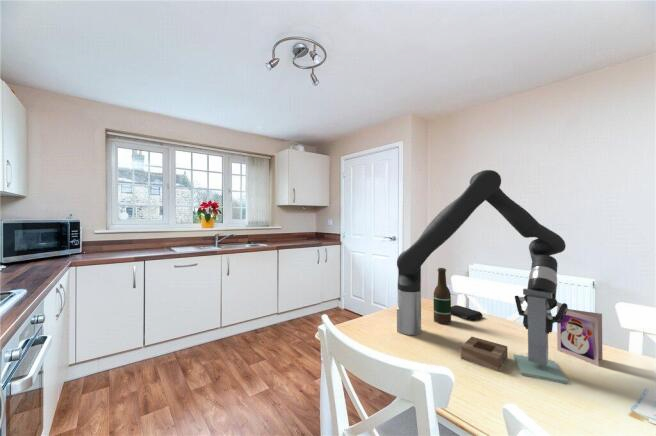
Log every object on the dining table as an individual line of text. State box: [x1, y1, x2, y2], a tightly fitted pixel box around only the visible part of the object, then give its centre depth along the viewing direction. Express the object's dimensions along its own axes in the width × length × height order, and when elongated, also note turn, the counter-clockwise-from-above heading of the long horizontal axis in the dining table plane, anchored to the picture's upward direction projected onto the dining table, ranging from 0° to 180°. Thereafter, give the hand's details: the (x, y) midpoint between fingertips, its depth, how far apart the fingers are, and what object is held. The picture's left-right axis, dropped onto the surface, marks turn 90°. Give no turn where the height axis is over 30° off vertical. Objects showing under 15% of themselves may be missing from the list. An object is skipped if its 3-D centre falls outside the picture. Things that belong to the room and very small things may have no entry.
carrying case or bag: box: [451, 304, 484, 322], centre depth 132 cm, size 11×3×15 cm
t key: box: [522, 288, 552, 366], centre depth 85 cm, size 4×7×22 cm, turn 45°
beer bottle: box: [433, 267, 452, 325], centre depth 124 cm, size 8×8×24 cm
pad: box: [512, 353, 569, 385], centre depth 85 cm, size 11×12×1 cm
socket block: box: [460, 336, 509, 372], centre depth 91 cm, size 11×11×4 cm
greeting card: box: [556, 307, 603, 367], centre depth 92 cm, size 11×7×15 cm, turn 20°
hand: (536, 329), depth 83 cm, fingers closed on t key, 4 cm apart
